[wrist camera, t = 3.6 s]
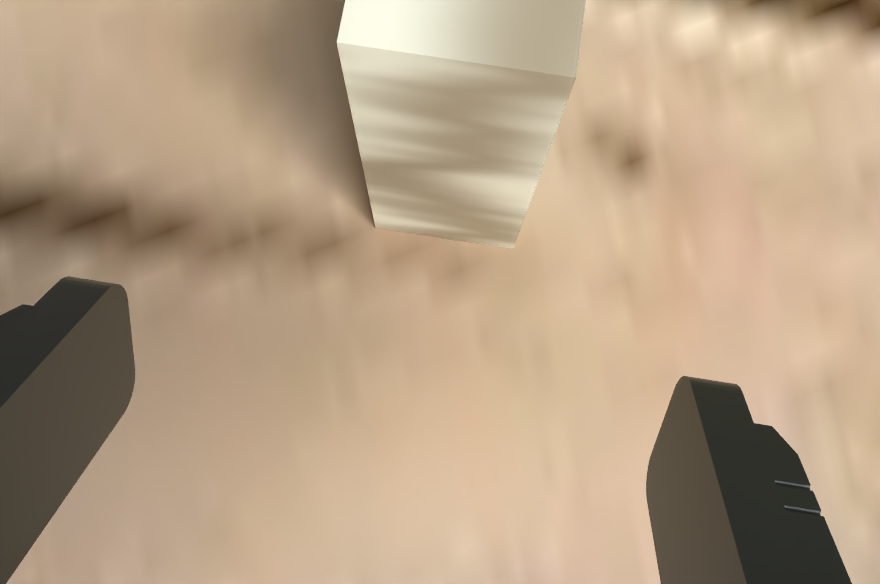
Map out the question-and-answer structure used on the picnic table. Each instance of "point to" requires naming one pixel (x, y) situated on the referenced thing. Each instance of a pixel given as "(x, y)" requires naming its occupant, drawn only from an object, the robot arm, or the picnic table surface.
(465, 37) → the birch post
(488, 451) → the picnic table surface
